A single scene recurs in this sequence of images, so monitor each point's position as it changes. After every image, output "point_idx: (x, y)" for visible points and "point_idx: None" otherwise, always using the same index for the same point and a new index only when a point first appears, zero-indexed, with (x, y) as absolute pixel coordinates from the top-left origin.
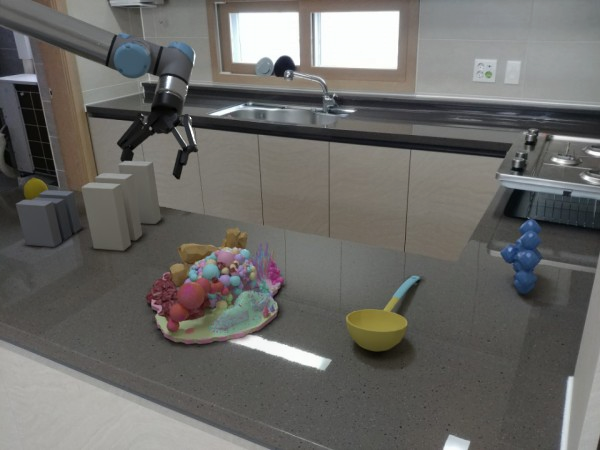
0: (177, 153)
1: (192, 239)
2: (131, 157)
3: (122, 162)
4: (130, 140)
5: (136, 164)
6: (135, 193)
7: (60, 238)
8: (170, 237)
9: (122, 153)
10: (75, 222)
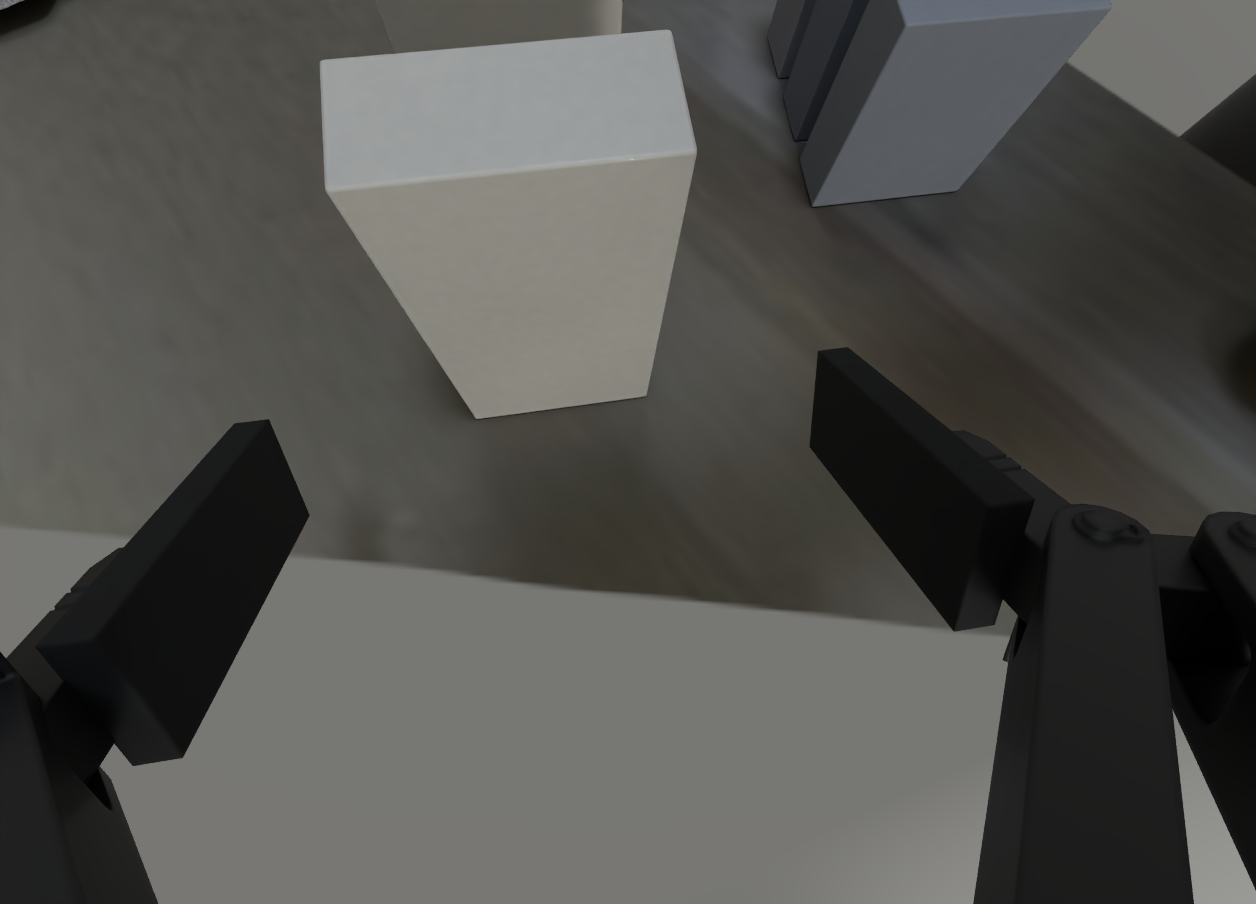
0: (133, 581)
1: (174, 249)
2: (913, 548)
3: (676, 93)
4: (1114, 613)
5: (464, 68)
6: (379, 12)
7: (782, 57)
8: (300, 239)
9: (1025, 478)
10: (819, 141)
